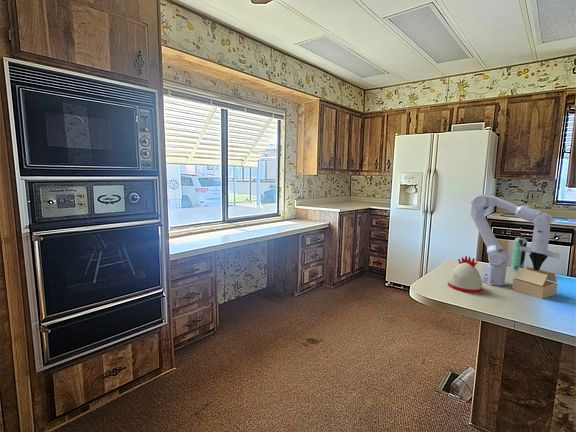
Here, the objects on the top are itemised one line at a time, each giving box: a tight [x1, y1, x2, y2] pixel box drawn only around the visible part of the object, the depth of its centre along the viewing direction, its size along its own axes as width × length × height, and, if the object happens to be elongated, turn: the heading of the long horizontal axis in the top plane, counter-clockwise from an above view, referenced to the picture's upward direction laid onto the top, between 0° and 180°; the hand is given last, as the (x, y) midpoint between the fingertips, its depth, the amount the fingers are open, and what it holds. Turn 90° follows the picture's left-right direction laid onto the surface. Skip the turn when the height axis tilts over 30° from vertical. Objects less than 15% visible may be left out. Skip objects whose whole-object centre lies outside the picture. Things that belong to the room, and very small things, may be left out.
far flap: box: [526, 265, 558, 283], centre depth 145 cm, size 6×11×1 cm
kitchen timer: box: [447, 255, 483, 294], centre depth 146 cm, size 14×14×15 cm
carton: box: [511, 277, 559, 300], centre depth 144 cm, size 12×12×5 cm
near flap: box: [513, 267, 548, 286], centre depth 141 cm, size 6×11×1 cm
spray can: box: [510, 234, 528, 272], centre depth 174 cm, size 6×6×20 cm
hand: (536, 270), depth 142 cm, fingers closed
